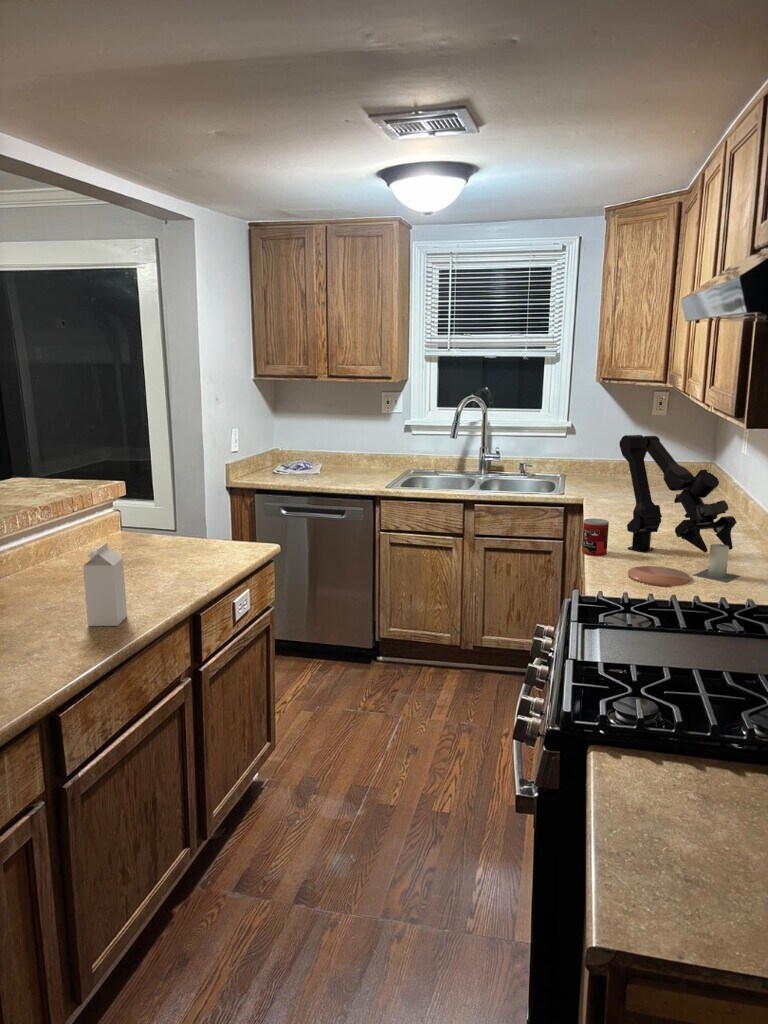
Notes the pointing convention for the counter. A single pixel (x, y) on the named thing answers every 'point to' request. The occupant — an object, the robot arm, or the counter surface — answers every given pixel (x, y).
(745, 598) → the counter surface
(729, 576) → the rubber mat
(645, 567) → the terracotta plate
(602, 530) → the canned food
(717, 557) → the sage canister
